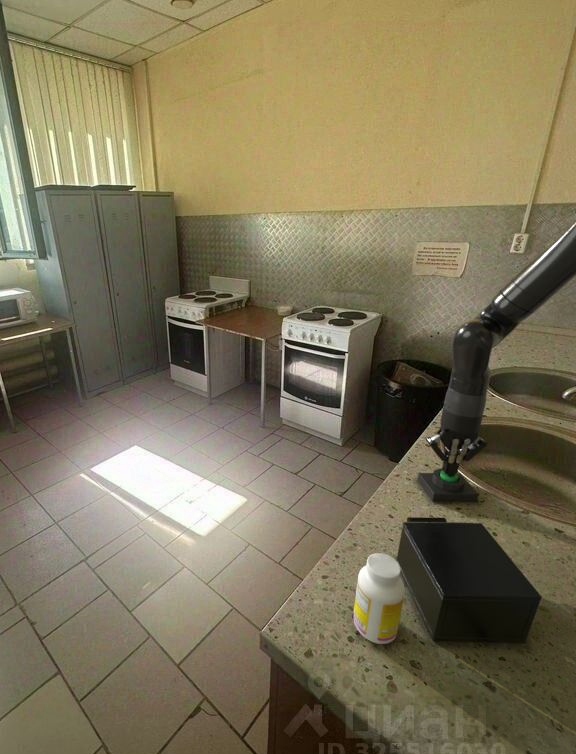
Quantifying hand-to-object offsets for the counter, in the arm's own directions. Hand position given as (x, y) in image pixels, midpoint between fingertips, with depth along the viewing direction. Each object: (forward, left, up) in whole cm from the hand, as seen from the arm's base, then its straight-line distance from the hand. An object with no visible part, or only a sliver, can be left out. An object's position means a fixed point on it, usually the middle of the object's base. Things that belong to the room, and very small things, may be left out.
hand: (449, 474), depth 92 cm
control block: (0, 0, -5) cm, 5 cm away
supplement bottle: (+28, +34, -5) cm, 44 cm away
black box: (+13, +29, -5) cm, 32 cm away
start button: (0, 0, -2) cm, 2 cm away
